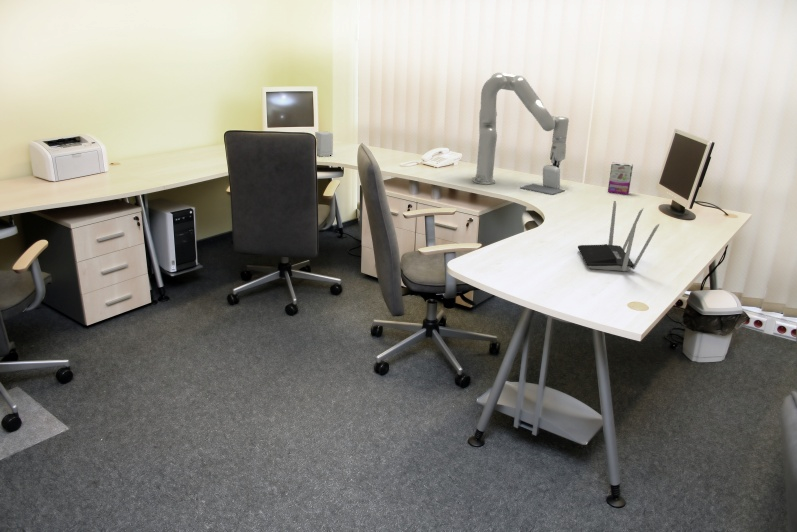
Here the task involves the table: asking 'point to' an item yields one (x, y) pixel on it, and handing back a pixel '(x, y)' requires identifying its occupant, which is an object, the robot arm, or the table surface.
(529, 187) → the mat
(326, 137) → the supplement box
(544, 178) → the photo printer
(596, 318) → the table surface
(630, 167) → the candy bar box
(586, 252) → the wireless router
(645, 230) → the table surface
